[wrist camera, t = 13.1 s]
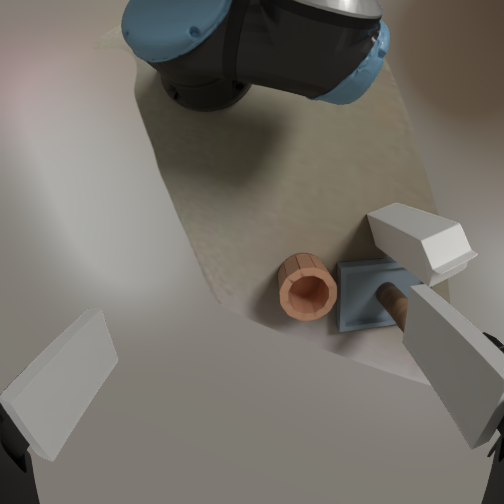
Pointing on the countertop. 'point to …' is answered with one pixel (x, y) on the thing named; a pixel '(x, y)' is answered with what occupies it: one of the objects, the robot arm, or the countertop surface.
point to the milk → (421, 242)
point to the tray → (368, 292)
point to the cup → (306, 287)
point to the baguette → (393, 302)
